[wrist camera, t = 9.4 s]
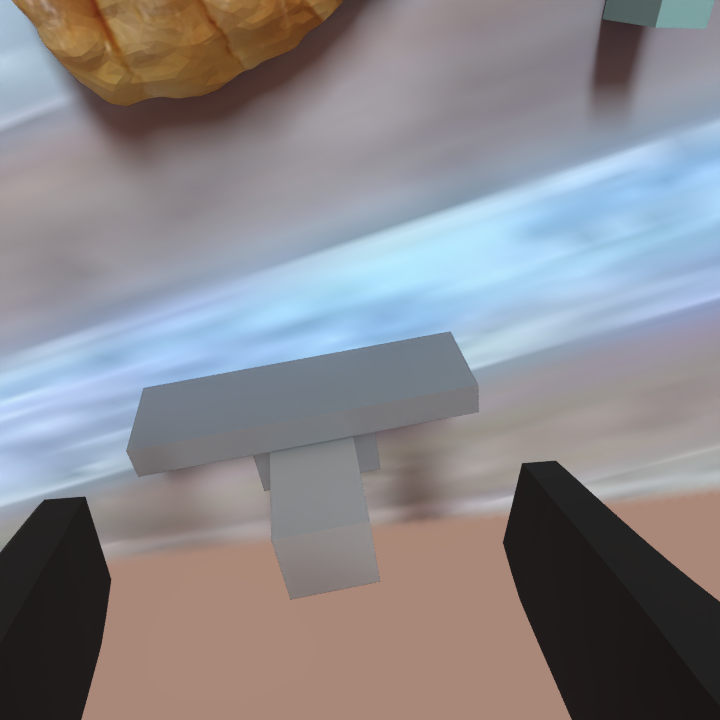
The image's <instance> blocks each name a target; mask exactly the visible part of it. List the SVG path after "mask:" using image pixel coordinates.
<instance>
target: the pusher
mask: <svg viewBox="0 0 720 720" xmlns="http://www.w3.org/2000/svg"><path fill="white" fill-rule="evenodd" d="M477 412H479V402H478V384H477V382H476V380H475V378H474V376H473V374H472V372H471V370H470V368H469V366H468V364H467V362H466V361H465V359H464V357H463V355H462V353H461V351H460V349H459V347H458V345H457V343H456V341H455V339H454V337H453V335H452V334H451V332H445V333H439V334H434V335H428V336H423V337H418V338H412V339H407V340H401V341H396V342H391V343H385V344H380V345H374V346H369V347H363V348H358V349H353V350H347V351H342V352H336V353H331V354H326V355H320V356H315V357H309V358H304V359H298V360H293V361H288V362H282V363H277V364H271V365H266V366H261V367H255V368H250V369H244V370H239V371H234V372H228V373H223V374H217V375H212V376H206V377H201V378H196V379H190V380H185V381H179V382H174V383H169V384H163V385H158V386H152V387H147V388H143V392H142V396H141V399H140V403H139V407H138V410H137V414H136V418H135V421H134V425H133V429H132V432H131V436H130V439H129V443H128V447H127V450H126V452H127V454H128V456H129V458H130V460H131V462H132V464H133V467H134V469H135V471H136V473H137V475H138V477H140V476H145V475H150V474H156V473H161V472H166V471H171V470H177V469H182V468H187V467H192V466H198V465H203V464H208V463H213V462H219V461H224V460H229V459H235V458H240V457H245V456H250V455H253V456H254V459H255V462H256V466H257V469H258V472H259V475H260V479H261V482H262V485H263V488H264V491H267V490H271V541H272V544H273V547H274V550H275V553H276V556H277V559H278V562H279V565H280V568H281V572H282V575H283V578H284V581H285V584H286V587H287V590H288V593H289V596H290V599H296V598H301V597H306V596H311V595H316V594H321V593H326V592H331V591H336V590H341V589H346V588H351V587H356V586H361V585H366V584H371V583H376V582H380V577H379V571H378V566H377V560H376V554H375V548H374V543H373V537H372V531H371V525H370V520H369V515H368V510H367V505H366V500H365V494H364V489H363V484H362V479H361V474H360V473H361V472H366V471H371V470H376V469H381V468H380V461H379V454H378V447H377V440H376V434H375V432H377V431H382V430H387V429H392V428H398V427H403V426H408V425H413V424H419V423H424V422H429V421H434V420H440V419H445V418H450V417H456V416H461V415H466V414H471V413H477Z"/></svg>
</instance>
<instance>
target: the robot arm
mask: <svg viewBox="0 0 720 720" xmlns="http://www.w3.org/2000/svg"><path fill="white" fill-rule="evenodd" d="M503 544H504V548H505V551H506V555H507V559H508V562H509V566H510V569H511V573H512V576H513V579H514V582H515V585H516V588H517V592H518V595H519V598H520V601H521V603H522V606H523V608H524V610H525V613H526V615H527V617H528V620H529V622H530V625H531V626H532V629H533V632H534V634H535V636H536V638H537V641H538V643H539V646H540V648H541V650H542V652H543V655H544V657H545V659H546V661H547V664H548V666H549V668H550V671H551V673H552V675H553V677H554V680H555V682H556V684H557V687H558V689H559V691H560V694H561V696H562V698H563V701H564V703H565V705H566V707H567V710H568V712H569V714H570V717H571V719H572V720H720V602H719V601H718V600H717V599H716V598H714V597H713V596H712V595H710V594H709V593H708V592H707V591H705V590H704V589H703V588H702V587H700V586H699V585H698V584H696V583H695V582H694V581H693V580H691V579H690V578H689V577H688V576H687V575H685V574H684V573H683V572H682V571H680V570H679V569H678V568H677V567H676V566H674V565H673V564H672V563H671V562H670V561H668V560H667V559H666V558H665V557H664V556H662V555H661V554H660V553H659V552H658V551H656V550H655V549H654V548H653V547H652V546H650V545H649V544H648V543H647V542H646V541H645V540H644V539H642V538H641V537H640V536H639V535H638V534H637V533H636V532H635V531H633V530H632V529H631V528H630V527H629V526H628V525H627V524H625V523H624V522H623V521H622V520H621V519H620V518H619V517H617V515H615V514H614V513H613V512H612V511H611V510H610V509H609V508H608V507H607V506H606V505H604V504H603V503H602V502H601V501H600V500H599V499H598V498H597V497H596V496H594V495H593V494H592V493H591V492H590V491H589V490H588V489H587V488H586V487H585V486H583V485H582V484H581V483H580V482H579V481H578V480H577V479H576V478H575V477H574V476H572V475H571V474H570V473H569V472H568V471H567V470H566V469H565V468H563V467H562V466H561V465H560V464H559V463H558V462H557V461H546V462H533V463H522V466H521V470H520V475H519V479H518V483H517V487H516V491H515V495H514V499H513V503H512V507H511V512H510V516H509V520H508V524H507V528H506V532H505V537H504V541H503ZM110 584H111V577H110V574H109V571H108V567H107V564H106V561H105V558H104V555H103V552H102V548H101V545H100V542H99V539H98V536H97V532H96V529H95V526H94V523H93V520H92V517H91V513H90V510H89V507H88V504H87V501H86V497H74V498H61V499H48V500H44V501H43V502H42V503H41V504H40V505H39V506H38V507H37V508H36V509H35V511H34V512H33V513H32V514H31V515H30V517H29V518H28V519H27V520H26V521H25V523H24V524H23V525H22V526H21V528H20V529H19V530H18V531H17V532H16V534H15V535H14V536H13V537H12V539H11V540H10V541H9V542H8V543H7V545H6V546H5V547H4V548H3V550H2V551H1V552H0V720H81V718H82V714H83V711H84V708H85V704H86V700H87V697H88V693H89V689H90V686H91V682H92V678H93V674H94V671H95V667H96V663H97V660H98V656H99V652H100V648H101V643H102V638H103V632H104V626H105V620H106V613H107V606H108V599H109V592H110Z"/></svg>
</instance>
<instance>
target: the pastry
mask: <svg viewBox="0 0 720 720" xmlns="http://www.w3.org/2000/svg"><path fill="white" fill-rule="evenodd" d="M12 1H13V2H14V4H15V5H16V6H17V7H18V8H19V9H20V10H21V11H22V12H23V13H24V14H25V15H26V16H27V17H28V18H29V20H30V21H31V22H32V23H33V24H34V26H35V27H36V28H37V31H38V34H39V37H40V39H41V40H42V42H43V43H44V45H45V46H46V47H47V48H48V49H49V50H50V51H51V52H52V53H53V55H54V56H55V57H56V58H57V59H58V60H59V61H60V62H61V63H62V65H63V66H64V67H65V68H66V69H67V70H68V71H69V72H70V73H71V74H72V75H73V76H74V77H75V78H76V79H77V80H78V81H79V82H80V83H82V84H84V85H85V86H87V87H88V88H90V89H91V90H92V91H94V92H95V93H96V94H98V95H99V96H100V97H101V98H103V99H104V100H106V101H107V102H109V103H110V104H117V105H124V106H129V105H132V104H135V103H137V102H140V101H142V100H145V99H150V98H155V97H168V98H186V97H194V96H202V95H205V94H207V93H210V92H213V91H215V90H219V89H220V88H221V87H222V86H224V85H225V84H226V83H228V82H229V81H231V80H232V79H234V78H235V77H236V76H237V75H239V74H240V73H242V72H244V71H246V70H250V69H253V68H255V67H256V66H257V65H259V64H260V63H262V62H263V61H266V60H268V59H271V58H273V57H276V56H278V55H281V54H283V53H286V52H288V51H290V50H292V49H294V48H295V47H296V46H297V45H298V44H299V43H300V42H301V41H302V39H303V38H304V37H305V35H306V34H307V33H308V32H309V31H311V30H313V29H314V28H316V27H317V26H319V25H320V24H321V23H323V22H324V21H325V20H326V19H327V18H328V17H329V16H331V14H332V13H333V12H334V11H335V10H336V9H337V8H338V7H339V5H340V4H341V3H342V2H343V1H344V0H12Z"/></svg>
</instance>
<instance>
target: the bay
mask: <svg viewBox="0 0 720 720" xmlns="http://www.w3.org/2000/svg"><path fill="white" fill-rule="evenodd" d="M714 1H715V0H606V5H605V9H604V14H603V18H602V19H604V20H611V21H617V22H623V23H630V24H636V25H642V26H649V27H655V28H695V29H706V27H707V24H708V20H709V17H710V14H711V11H712V7H713V4H714Z"/></svg>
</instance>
